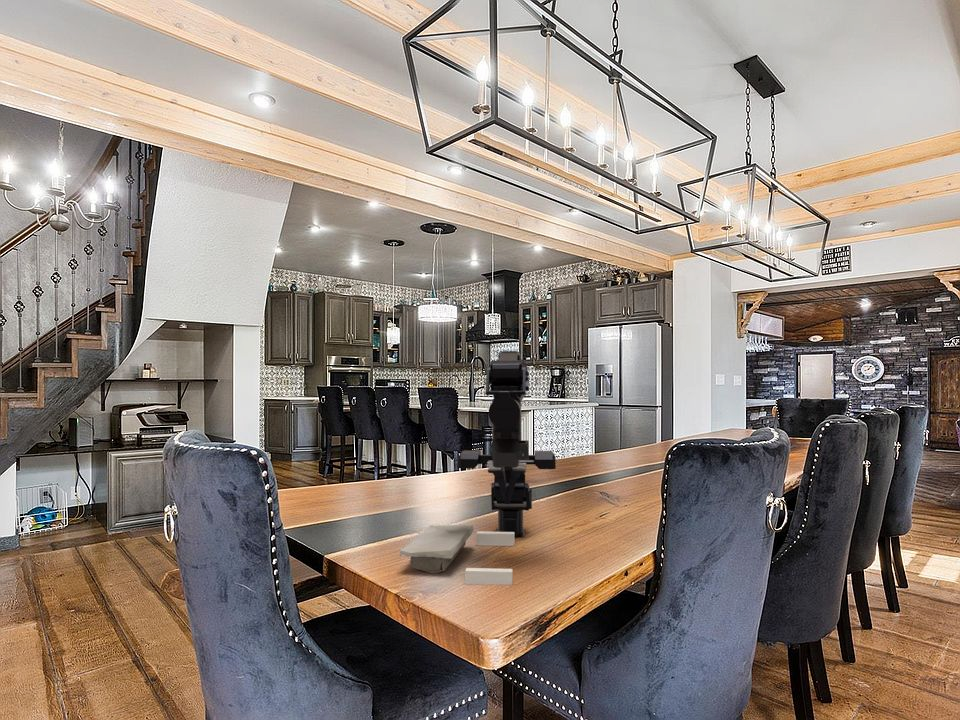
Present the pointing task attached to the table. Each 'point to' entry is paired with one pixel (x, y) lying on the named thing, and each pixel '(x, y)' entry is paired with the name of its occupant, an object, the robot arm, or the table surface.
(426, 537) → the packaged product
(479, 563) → the table surface
